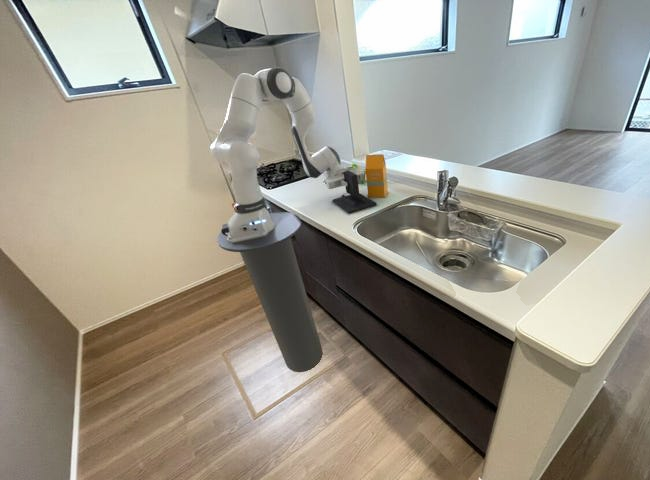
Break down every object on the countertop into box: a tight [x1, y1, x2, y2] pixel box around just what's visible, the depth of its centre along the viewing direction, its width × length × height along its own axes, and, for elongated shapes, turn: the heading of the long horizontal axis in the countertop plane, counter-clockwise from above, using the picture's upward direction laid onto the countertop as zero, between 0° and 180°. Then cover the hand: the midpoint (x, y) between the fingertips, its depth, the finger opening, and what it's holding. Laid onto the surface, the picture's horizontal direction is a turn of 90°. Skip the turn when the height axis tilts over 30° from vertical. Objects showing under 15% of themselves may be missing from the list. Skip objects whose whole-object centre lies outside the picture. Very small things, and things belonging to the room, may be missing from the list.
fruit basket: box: [350, 163, 366, 184], centre depth 172 cm, size 11×9×11 cm
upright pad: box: [343, 171, 361, 197], centre depth 142 cm, size 3×9×10 cm, turn 29°
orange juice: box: [364, 153, 388, 199], centre depth 149 cm, size 8×9×20 cm
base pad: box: [332, 192, 378, 215], centre depth 147 cm, size 15×20×3 cm
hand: (352, 183), depth 141 cm, fingers closed on upright pad, 3 cm apart
